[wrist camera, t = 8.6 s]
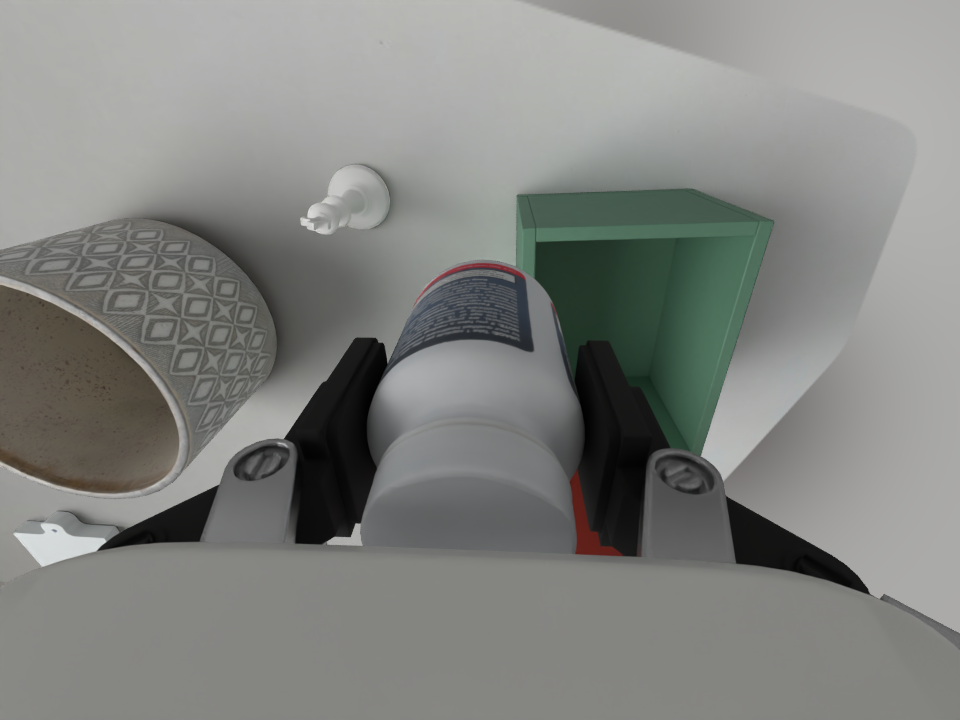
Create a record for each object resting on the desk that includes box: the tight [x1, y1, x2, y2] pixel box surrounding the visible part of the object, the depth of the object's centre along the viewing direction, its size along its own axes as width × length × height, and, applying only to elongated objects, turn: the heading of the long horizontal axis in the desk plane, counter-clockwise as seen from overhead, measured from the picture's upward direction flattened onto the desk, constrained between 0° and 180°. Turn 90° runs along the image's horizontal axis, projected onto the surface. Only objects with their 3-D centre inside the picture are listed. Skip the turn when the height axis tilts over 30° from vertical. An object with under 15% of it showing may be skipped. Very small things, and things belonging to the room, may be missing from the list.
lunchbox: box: [516, 189, 774, 456], centre depth 32 cm, size 18×14×11 cm
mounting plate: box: [13, 511, 120, 567], centre depth 60 cm, size 18×13×2 cm
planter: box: [0, 218, 277, 499], centre depth 34 cm, size 19×19×14 cm
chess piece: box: [301, 165, 390, 235], centre depth 29 cm, size 5×5×10 cm
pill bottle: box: [360, 260, 585, 554], centre depth 11 cm, size 5×5×9 cm
